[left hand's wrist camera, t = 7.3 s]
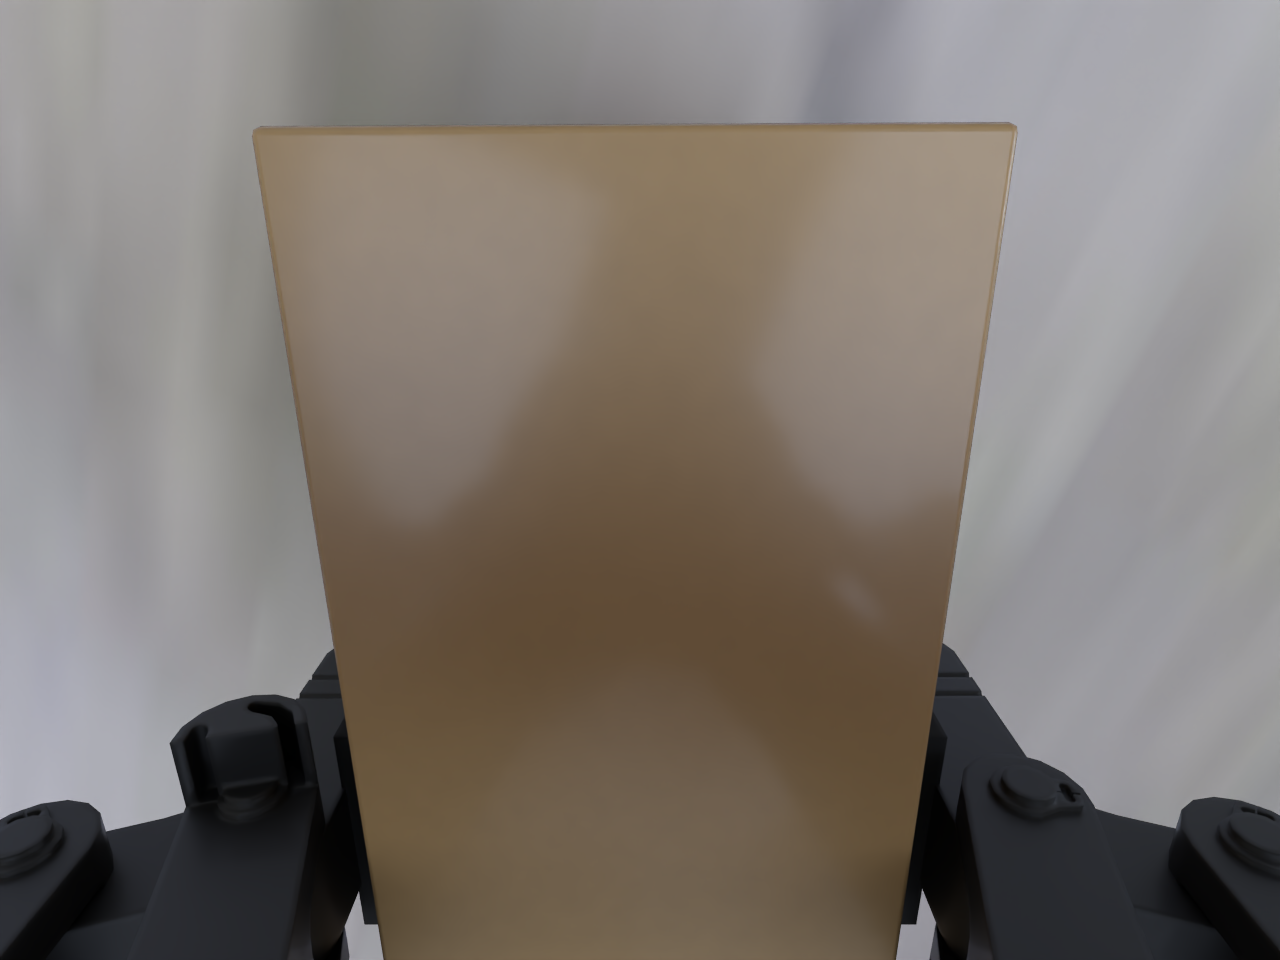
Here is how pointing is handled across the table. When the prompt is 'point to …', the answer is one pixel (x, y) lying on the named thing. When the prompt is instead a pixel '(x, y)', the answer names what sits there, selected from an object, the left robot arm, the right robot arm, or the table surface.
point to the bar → (637, 514)
